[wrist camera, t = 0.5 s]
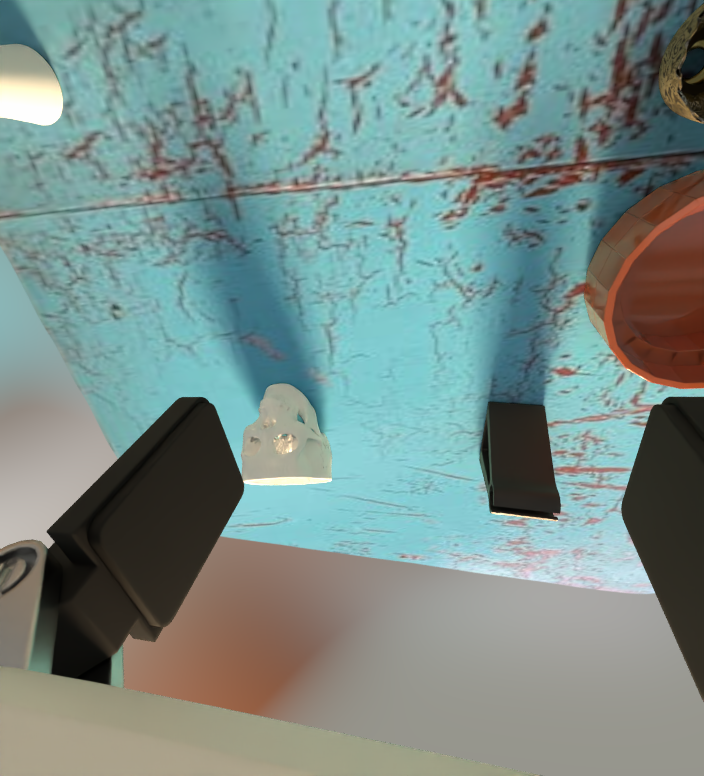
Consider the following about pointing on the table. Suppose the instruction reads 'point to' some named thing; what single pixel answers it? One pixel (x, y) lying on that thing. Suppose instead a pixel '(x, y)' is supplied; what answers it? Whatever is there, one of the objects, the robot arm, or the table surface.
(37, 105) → the cosmetic bottle
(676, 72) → the cup
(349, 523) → the table surface
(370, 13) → the table surface
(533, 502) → the door stopper
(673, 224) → the bowl
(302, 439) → the skull bowl
